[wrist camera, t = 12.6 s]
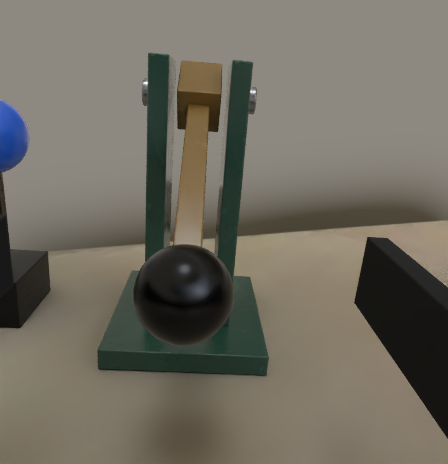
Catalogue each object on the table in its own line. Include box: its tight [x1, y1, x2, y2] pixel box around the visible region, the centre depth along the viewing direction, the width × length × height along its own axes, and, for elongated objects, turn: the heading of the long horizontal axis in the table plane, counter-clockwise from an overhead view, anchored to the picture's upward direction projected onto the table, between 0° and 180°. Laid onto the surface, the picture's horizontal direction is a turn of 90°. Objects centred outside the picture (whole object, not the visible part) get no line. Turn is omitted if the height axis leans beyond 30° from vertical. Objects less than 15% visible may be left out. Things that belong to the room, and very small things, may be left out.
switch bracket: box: [98, 53, 269, 375], centre depth 24 cm, size 10×9×16 cm
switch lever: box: [133, 61, 234, 346], centre depth 18 cm, size 15×4×4 cm
